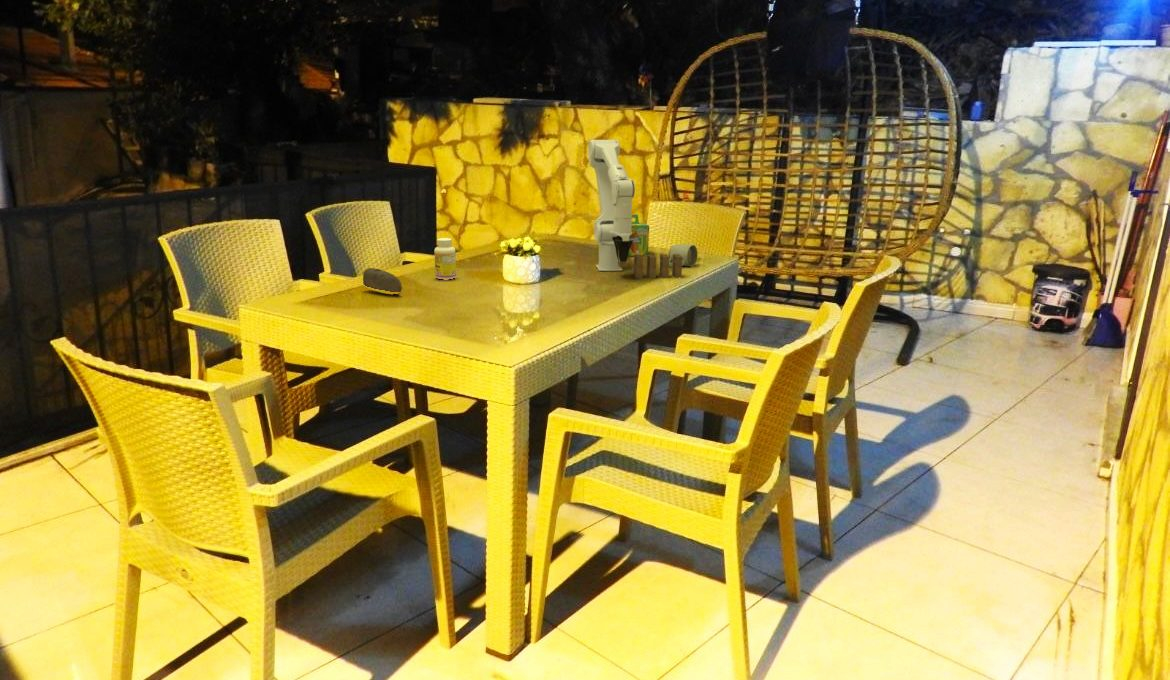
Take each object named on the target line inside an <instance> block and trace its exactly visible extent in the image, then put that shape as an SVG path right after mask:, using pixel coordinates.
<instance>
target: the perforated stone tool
mask: <svg viewBox="0 0 1170 680" xmlns="http://www.w3.org/2000/svg"><path fill="white" fill-rule="evenodd" d="M362 273H363V275H362V282H363V286H364V285H365V286H367V287H371V288H374V289H379V290H385V291H390V292H400V293H401V292H402V291H403V286H402V283H401V280H400V279H399V278H398V277H397V276H396V275H395V274H393V273H390V272H388V271H386V270H383V269H379V268H374V267H370V268H366V269H364V271H363V272H362ZM365 286H364V287H365Z"/></svg>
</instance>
